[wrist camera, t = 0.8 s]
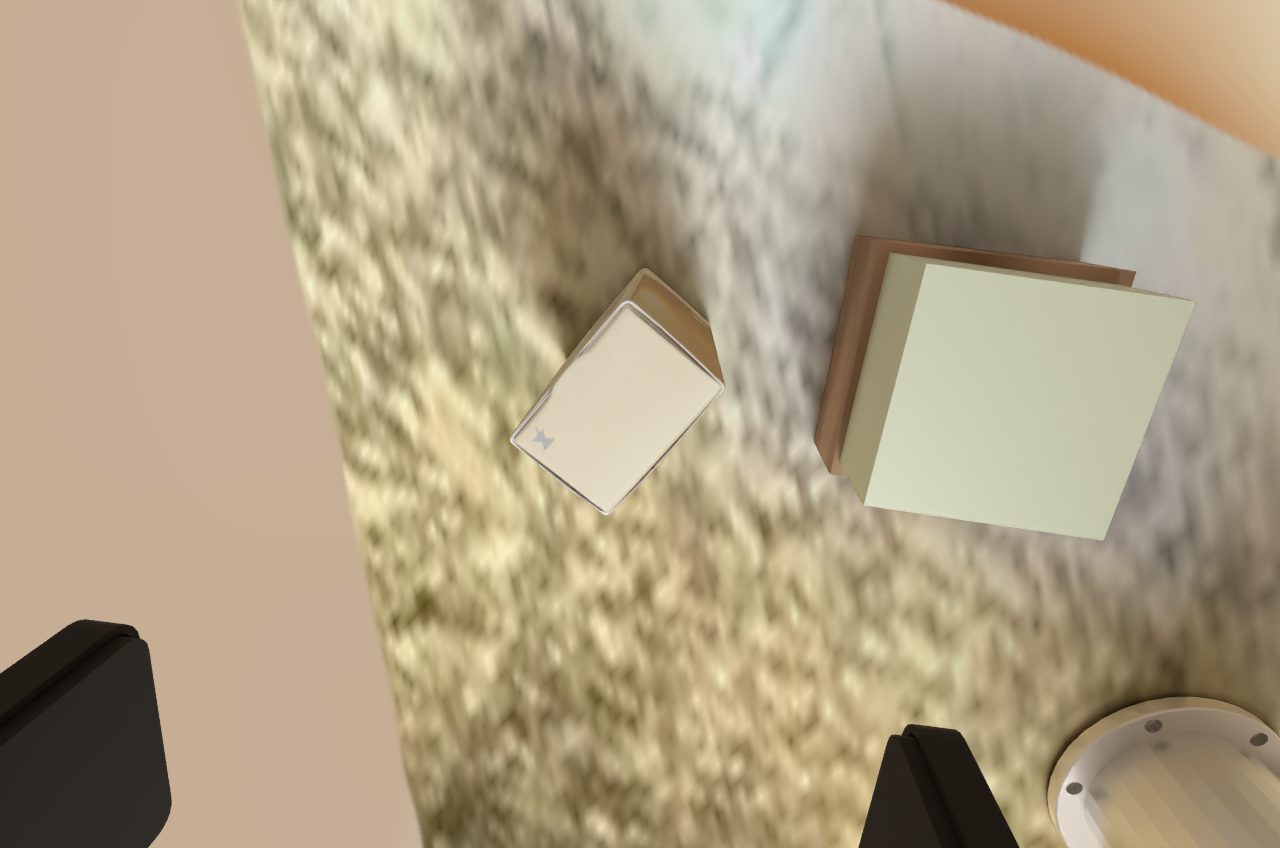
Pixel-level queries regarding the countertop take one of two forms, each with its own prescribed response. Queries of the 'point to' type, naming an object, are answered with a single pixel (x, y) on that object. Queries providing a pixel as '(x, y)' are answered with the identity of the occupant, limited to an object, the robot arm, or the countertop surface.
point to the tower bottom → (862, 308)
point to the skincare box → (624, 394)
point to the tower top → (1007, 394)
